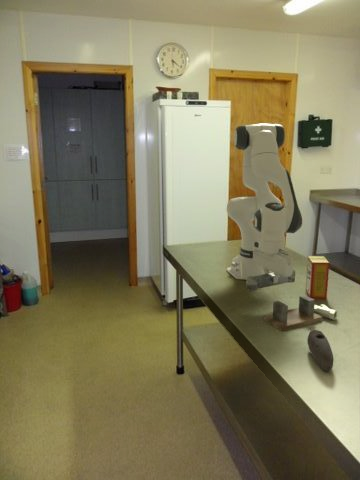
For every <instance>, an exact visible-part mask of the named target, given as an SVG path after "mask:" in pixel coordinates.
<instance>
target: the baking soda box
mask: <svg viewBox="0 0 360 480" xmlns="http://www.w3.org/2000/svg"><path fill="white" fill-rule="evenodd" d="M306 262H307V265H306V281H305V282H306V283H305V292H306V294H307V296H308V297H310V298H312V299H314V300H327V298H328V287H329V286H328V283H329V272H330V262H329V261H328V260H327V258H326V257H325V256H323V255H308V256H307V261H306Z"/></svg>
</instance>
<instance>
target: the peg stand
mask: <svg viewBox="0 0 360 480" xmlns="http://www.w3.org/2000/svg"><path fill="white" fill-rule="evenodd" d="M315 300H316V299H312V298H310V297H309V296H308V295H305V294H303V295H299V300H298V307H296V308H292V309H289V305H287V304H285V303H283V302H282V301H280V300H276V301H273V302H272V313H270V314H266V315H264V316H263V320H264V321H265V322H267V323H268V324H270V325H272V326H273V327H274V328H277V330H280V331H281V332H283V331H288V330H292V329H296V328H299V327H303V326H307V325H311V324H315V323H318V322H322V321H323V317H322V316H320V315H318V314H316V313H314V305H315Z"/></svg>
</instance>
